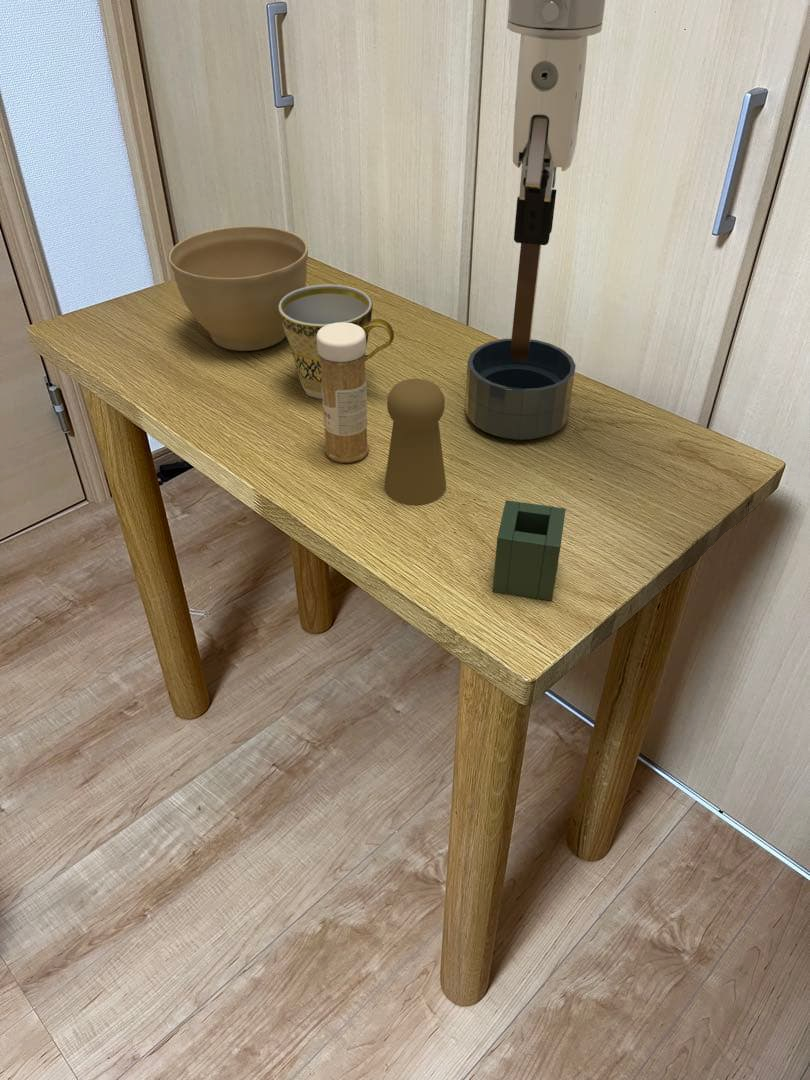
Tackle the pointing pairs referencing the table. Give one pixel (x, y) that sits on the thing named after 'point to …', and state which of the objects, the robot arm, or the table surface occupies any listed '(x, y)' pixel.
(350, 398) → the sprinkles bottle
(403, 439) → the brown peg doll
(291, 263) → the planter bowl
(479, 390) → the mixing bowl
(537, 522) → the stick holder
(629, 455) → the table surface
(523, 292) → the stirring stick
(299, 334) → the ceramic cup
